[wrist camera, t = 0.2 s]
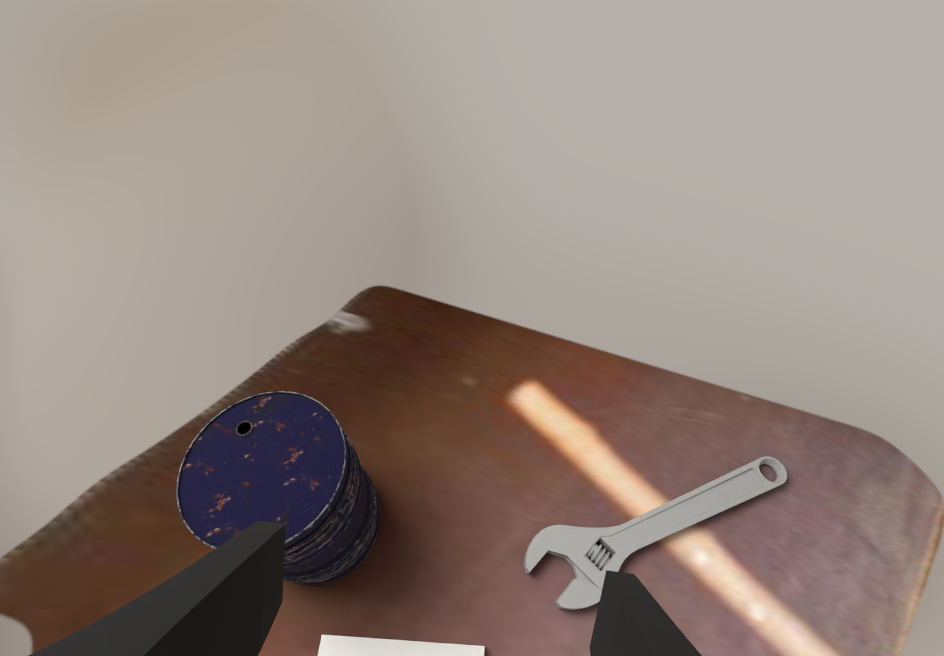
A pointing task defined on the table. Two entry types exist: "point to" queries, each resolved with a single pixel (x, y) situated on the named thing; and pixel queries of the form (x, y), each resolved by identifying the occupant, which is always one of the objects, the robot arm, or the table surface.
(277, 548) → the robot arm
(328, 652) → the outlet plate
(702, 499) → the adjustable wrench
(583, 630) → the table surface
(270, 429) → the dark blue barrel
